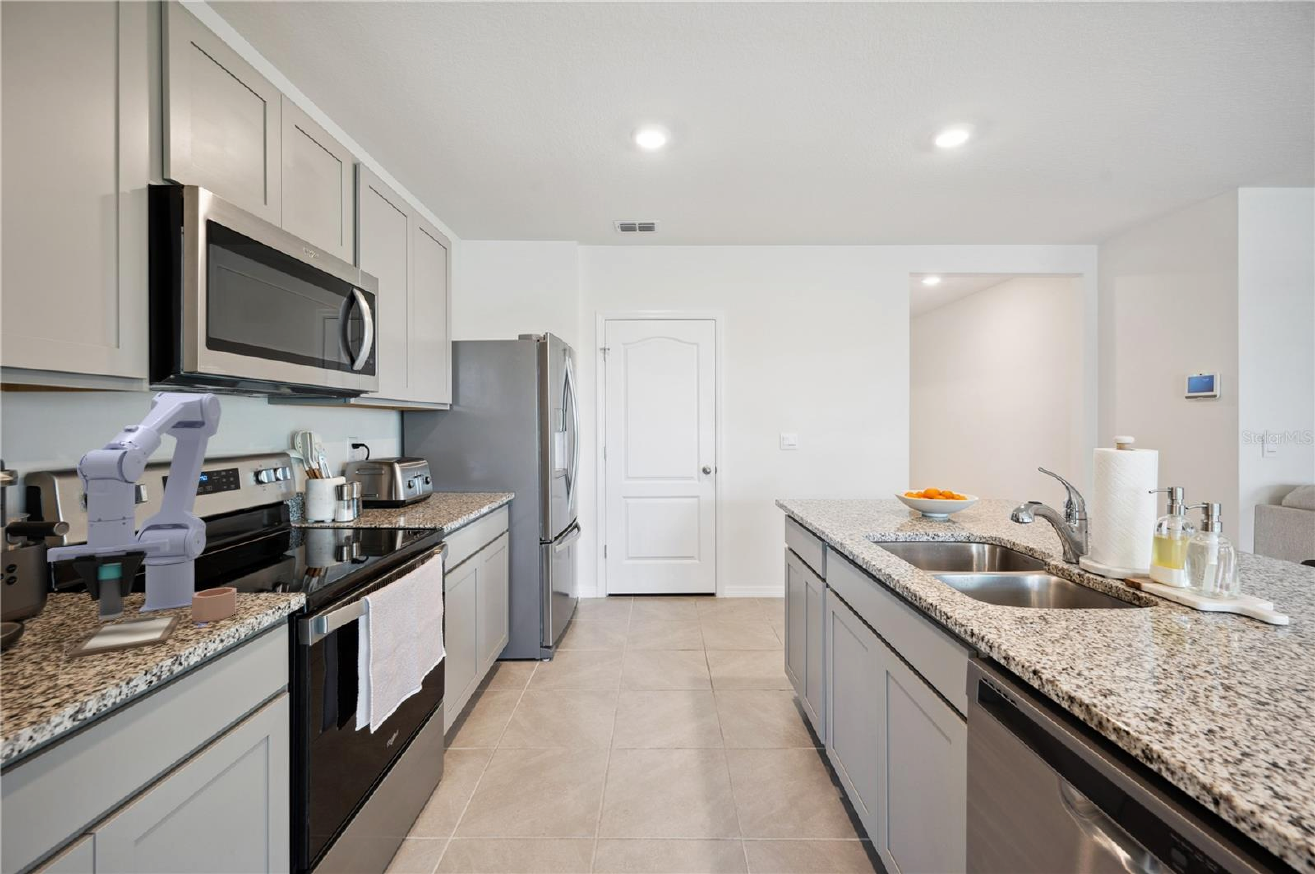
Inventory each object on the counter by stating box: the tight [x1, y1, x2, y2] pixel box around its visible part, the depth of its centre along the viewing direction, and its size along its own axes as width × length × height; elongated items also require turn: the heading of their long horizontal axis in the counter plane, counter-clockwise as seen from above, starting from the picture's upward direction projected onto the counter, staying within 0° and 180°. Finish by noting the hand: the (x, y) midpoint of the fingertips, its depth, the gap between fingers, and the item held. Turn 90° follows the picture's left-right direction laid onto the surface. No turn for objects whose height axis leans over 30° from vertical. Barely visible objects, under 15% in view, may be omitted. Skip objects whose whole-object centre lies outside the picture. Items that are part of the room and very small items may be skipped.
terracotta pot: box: [191, 586, 238, 623], centre depth 100 cm, size 6×6×4 cm
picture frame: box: [68, 614, 183, 659], centre depth 90 cm, size 14×11×1 cm
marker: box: [98, 562, 125, 621], centre depth 90 cm, size 3×3×9 cm
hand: (111, 597), depth 91 cm, fingers closed on marker, 3 cm apart
